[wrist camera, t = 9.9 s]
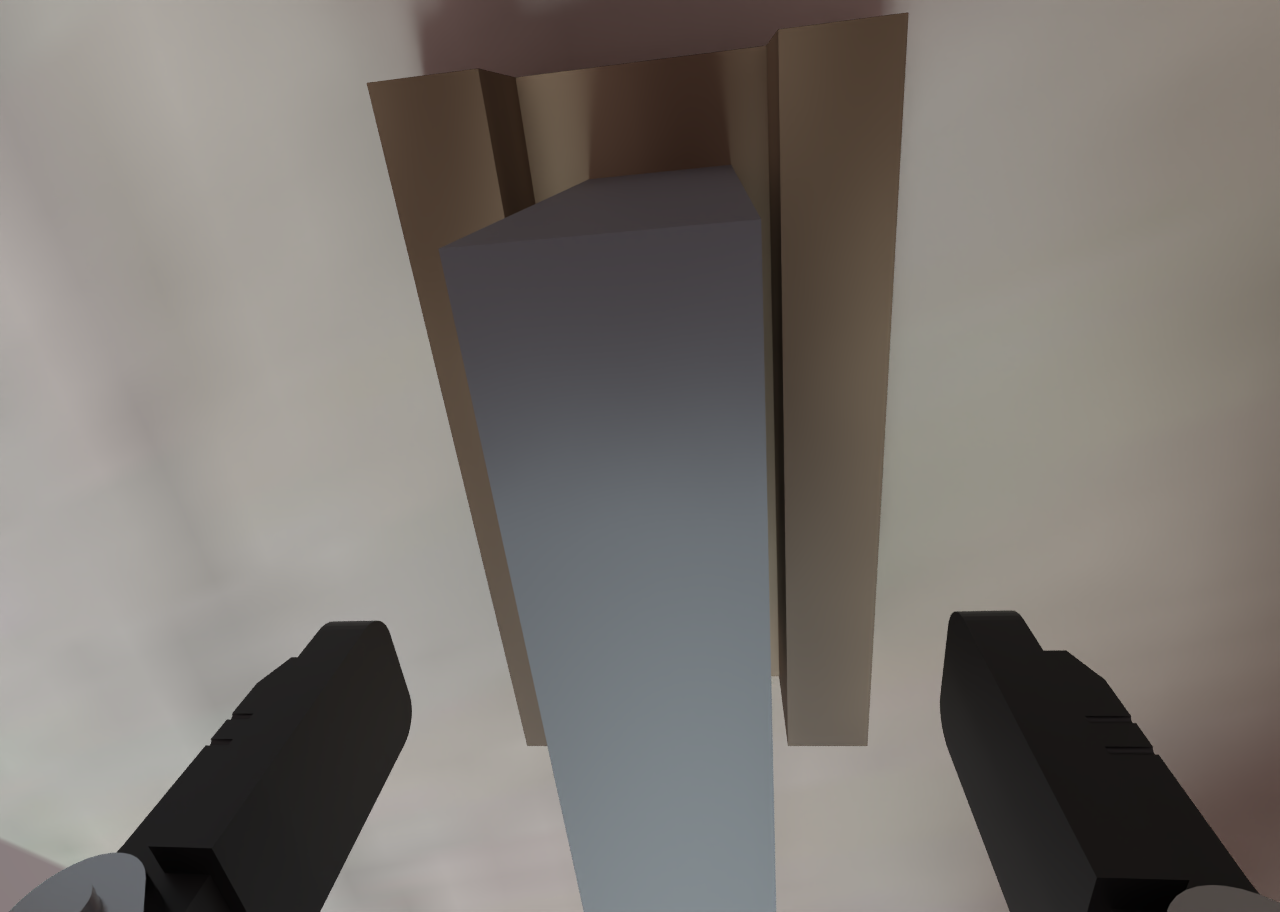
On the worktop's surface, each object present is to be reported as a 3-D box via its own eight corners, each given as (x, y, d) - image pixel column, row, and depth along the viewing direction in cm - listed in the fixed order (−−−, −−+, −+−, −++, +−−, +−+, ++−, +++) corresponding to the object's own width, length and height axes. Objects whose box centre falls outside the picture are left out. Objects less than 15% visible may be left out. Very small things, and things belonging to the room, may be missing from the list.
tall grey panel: (731, 164, 14) (761, 219, 6) (748, 624, 19) (778, 984, 11) (579, 180, 14) (418, 250, 6) (636, 625, 20) (586, 975, 12)
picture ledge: (883, 37, 14) (941, 7, 11) (857, 639, 21) (887, 745, 17) (425, 94, 15) (339, 86, 12) (541, 645, 22) (509, 745, 19)
